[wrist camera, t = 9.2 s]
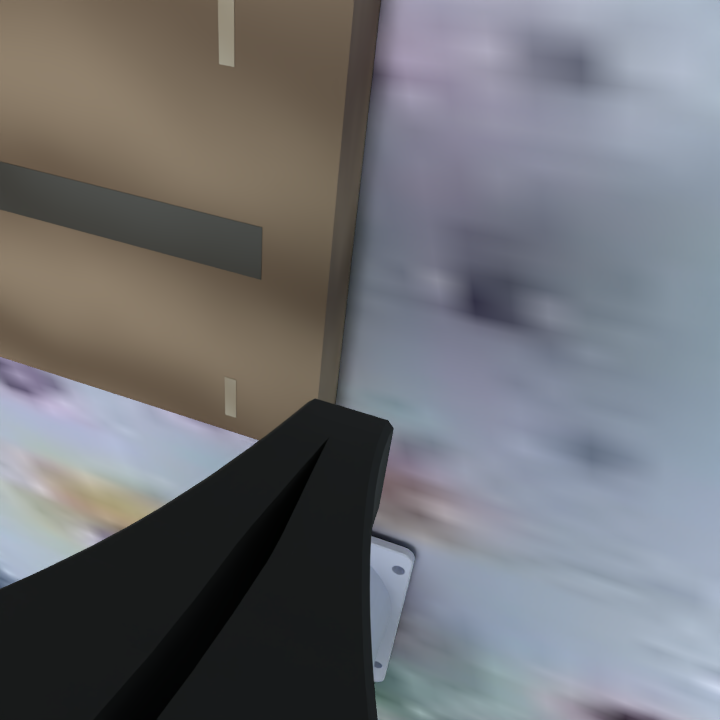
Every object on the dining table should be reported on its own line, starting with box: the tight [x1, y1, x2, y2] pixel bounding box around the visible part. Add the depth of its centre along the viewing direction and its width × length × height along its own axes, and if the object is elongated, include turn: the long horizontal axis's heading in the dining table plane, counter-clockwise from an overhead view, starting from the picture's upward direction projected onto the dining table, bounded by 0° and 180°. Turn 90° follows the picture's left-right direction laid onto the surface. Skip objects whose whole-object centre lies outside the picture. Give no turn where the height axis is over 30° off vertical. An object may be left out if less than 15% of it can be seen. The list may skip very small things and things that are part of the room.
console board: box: [0, 0, 381, 440], centre depth 20 cm, size 14×22×2 cm, turn 83°
